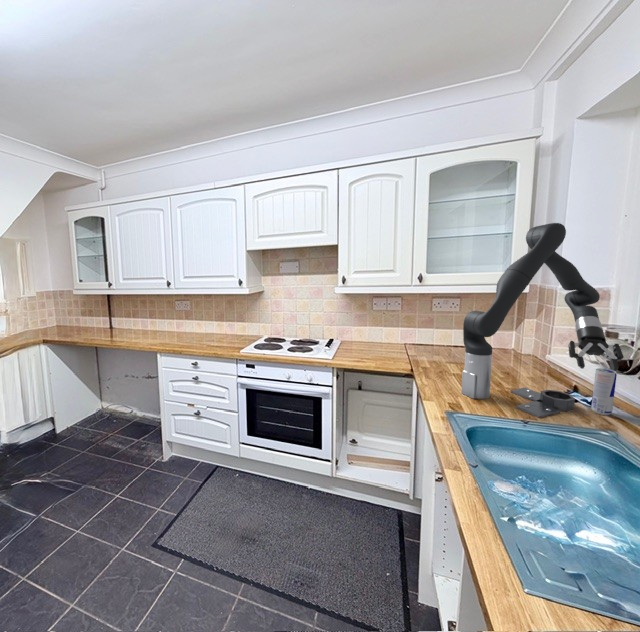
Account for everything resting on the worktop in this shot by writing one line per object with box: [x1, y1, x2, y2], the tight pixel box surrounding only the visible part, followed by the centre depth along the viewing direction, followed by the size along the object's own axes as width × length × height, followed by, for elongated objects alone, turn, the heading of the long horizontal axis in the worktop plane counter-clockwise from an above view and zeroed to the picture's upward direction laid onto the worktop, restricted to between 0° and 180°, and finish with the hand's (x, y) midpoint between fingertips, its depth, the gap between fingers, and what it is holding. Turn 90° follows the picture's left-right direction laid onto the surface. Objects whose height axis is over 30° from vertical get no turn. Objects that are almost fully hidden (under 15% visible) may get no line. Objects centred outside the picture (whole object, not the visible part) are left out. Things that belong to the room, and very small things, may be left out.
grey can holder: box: [510, 387, 576, 419], centre depth 108 cm, size 19×19×4 cm
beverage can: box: [590, 367, 617, 416], centre depth 98 cm, size 5×5×15 cm
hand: (598, 369), depth 103 cm, fingers open, 8 cm apart
